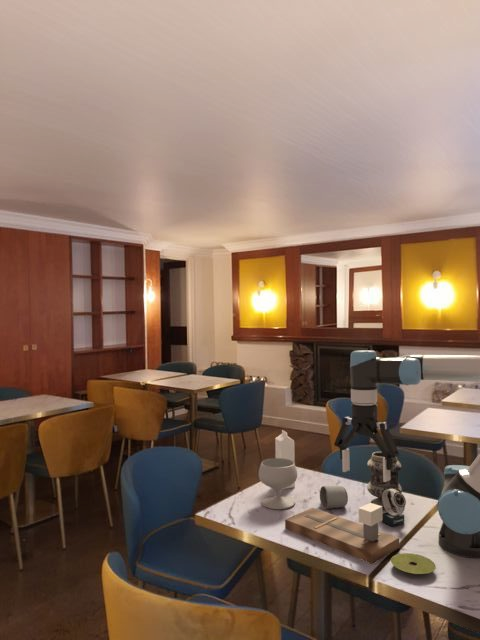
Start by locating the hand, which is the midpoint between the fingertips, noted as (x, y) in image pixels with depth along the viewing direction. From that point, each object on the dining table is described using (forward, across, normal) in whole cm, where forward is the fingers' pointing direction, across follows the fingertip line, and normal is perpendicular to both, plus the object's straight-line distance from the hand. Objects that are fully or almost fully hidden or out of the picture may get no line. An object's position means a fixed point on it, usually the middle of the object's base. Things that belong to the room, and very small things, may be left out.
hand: (365, 475), depth 145 cm
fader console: (+21, +9, +1) cm, 23 cm away
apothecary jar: (+21, +14, -33) cm, 42 cm away
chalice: (+21, +41, -7) cm, 47 cm away
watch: (+21, +3, -20) cm, 29 cm away
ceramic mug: (+21, +26, -19) cm, 39 cm away
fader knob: (+17, -2, +1) cm, 18 cm away
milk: (+20, +52, -23) cm, 60 cm away
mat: (+21, -16, +3) cm, 27 cm away
